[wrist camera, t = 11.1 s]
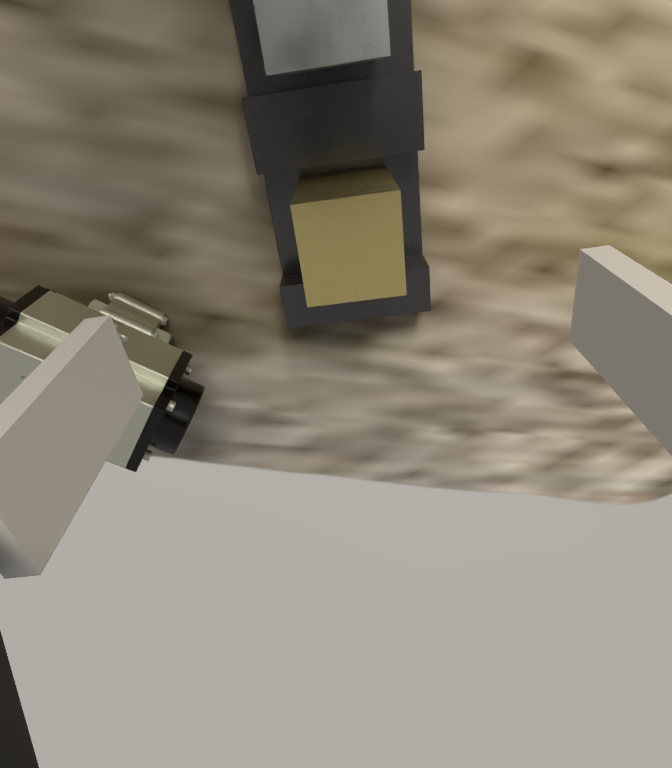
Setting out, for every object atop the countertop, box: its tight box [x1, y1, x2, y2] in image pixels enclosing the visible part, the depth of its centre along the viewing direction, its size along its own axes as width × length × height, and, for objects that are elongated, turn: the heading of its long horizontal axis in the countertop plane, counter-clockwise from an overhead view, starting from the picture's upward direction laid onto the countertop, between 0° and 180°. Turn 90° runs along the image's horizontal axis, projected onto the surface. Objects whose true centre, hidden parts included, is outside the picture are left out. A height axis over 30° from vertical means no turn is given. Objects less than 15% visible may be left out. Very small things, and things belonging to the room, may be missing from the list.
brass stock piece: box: [290, 164, 407, 307], centre depth 27 cm, size 5×5×8 cm
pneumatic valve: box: [0, 285, 205, 472], centre depth 29 cm, size 6×12×12 cm, turn 60°
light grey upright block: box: [253, 0, 391, 76], centre depth 22 cm, size 5×5×8 cm
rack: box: [230, 0, 431, 329], centre depth 27 cm, size 22×9×3 cm, turn 8°
